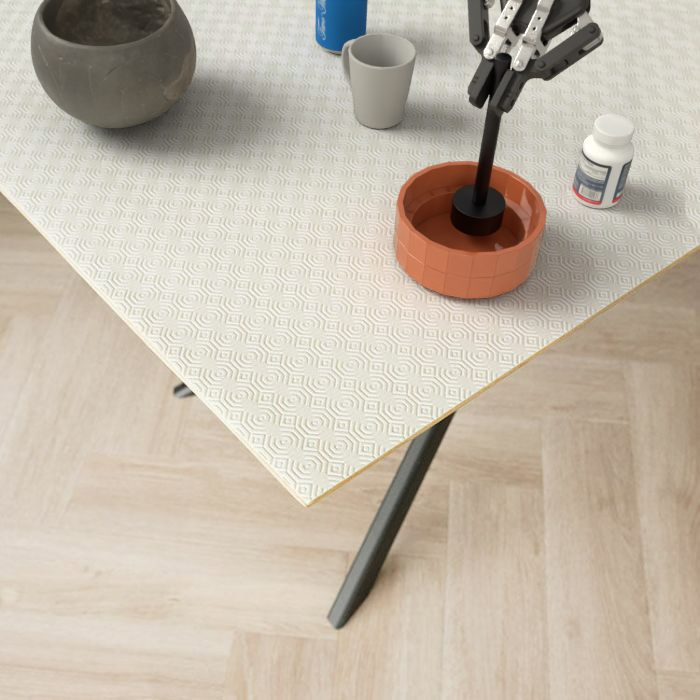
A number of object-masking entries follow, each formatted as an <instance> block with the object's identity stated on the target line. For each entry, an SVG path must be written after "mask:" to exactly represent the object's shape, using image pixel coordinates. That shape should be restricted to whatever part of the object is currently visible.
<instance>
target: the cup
mask: <svg viewBox="0 0 700 700" xmlns="http://www.w3.org/2000/svg"><path fill="white" fill-rule="evenodd" d="M417 55H418V51H417V48H416V46H415V45H414V44H413V42H412V41H410V40H409V39H408V38H405V37H403V36H401V35H397V34H393V33H386V32H373V33H366V35H364V36H361V37H359V38H357V39H352V40H350V41H348V42H346V43H345V44H344V46H343V49H342V54H341V57H340V58H341V68H342V71H343V75H344V78H345V80H346V82H347V84H348V86H349V88H350V89H351V93H352V94H351V95H352V103H353V110H354V117H355V119H356V120H357V121H358V122H359V123H360V124H361V125H363V126H365V127H368V128H371V129H378V130H382V129H383V130H385V129H389V128H392V127H395V126H397V125H398V124H400V123H401V122H402V120H403V117H404V114H405V109H406V107H407V106H406V105H407V101H408V97H409V93H410V89H411V85H412V79H413V74H414V69H415V65H416V59H417Z"/></svg>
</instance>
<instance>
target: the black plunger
mask: <svg viewBox="0 0 700 700" xmlns="http://www.w3.org/2000/svg"><path fill="white" fill-rule="evenodd" d="M512 61H513V56H512V55H511V54H510V53H509V54H508V53H498V54H497V55H496V58H495V64H494V70H493V76H492V82H491V88H490V94H489V96H488V99H487V107H486V112H485V119H484V125H483V131H482V137H481V143H480V151H479V156H478V161H477V162H478V167H477V173H476V179H475V184H471V185H466V186H463V187H461V188H459V189H458V190H457V191H456V192H455V193H454V195H453V200H452V207H451V214H450V220H451V223H452V225H453V226H454V227H455V228H456V229H457V230H459V231H460V232H462V233H464V234H467V235H471V236H479V237H480V236H488V235H491V234H493V233H495V232H497V231H498V230H499V229H500V227H501V225H502V221H503V216H504V211H505V206H506V201H505V198H504V196H503V195H502V194H501V193H500V192H499V191H498V190H496V189H494V188H492V187H489V184H490V179H491V173H492V167H493V165H494V162H495V161H494V160H495V156H496V150H497V146H498V145H497V144H498V140H499V134H500V127H501V124H502V116H503V115H502V116H501V117H497V116H495V115H493V114H492V113H491V112H490V111H489V110H488V107H489V104H490V102H491V100H492V98H493V96H494V94H495V92H496V90H497V88H498V86H499V84H500V82H501V81H502V79H503V77H504V75H505V73H506V71H507V69H510V70H511V67H512V63H513V62H512Z"/></svg>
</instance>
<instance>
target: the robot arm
mask: <svg viewBox="0 0 700 700" xmlns="http://www.w3.org/2000/svg"><path fill="white" fill-rule="evenodd" d="M591 1H592V0H499V5H500V15H499V16H498V19H497V20H496V22H495V25H494V27H493V33H492V34H491V33H490V17H489V16H490V15H489V12H490V11H489V9H492V8H493V6H494V5H495V3H496V0H467V17H468V18H467V19H468V38H469V43H470V44H471V46H472V47H473V48H474V49H475V51H476V52H477V53H478V54H479V55H480V57H481V59H480V62H479V65H478V66H477V68H476V70H475V72H474V74H473V77H472V78H471V81H470V82H469V83H468V86H467V95H468V96H469V97H468V103H469V104H470V105H471V106H473V107H474V108H477V109H479V110H481V109H483V107H484V106H485V104H486V102H487V101H488V99H489V94H490V88H491V82H492V76H493V70H494V64H495V58H496V55H497V54H498V53H508V54H510V53H511V51H512V49H513V48H515V47H516V46H517V45H518V43H519V41H520V40H521V45H520V47H519V49H518V51H517V54H516V55H515V58H514V60H513V62H512V66H511V67H512V68H510V69H507V71H506V73H505V75H504V77H503V79H502V81H501V82H500V84H499V86H498V88H497V90H496V92H495V94H494V96H493V98H492V100H491V102H490V104H489V107H488V110H489V111H490V112H491V113H492V114H493V115H495V116H497V117H501V116H503V115H504V113H506V114H509V113H510V112H512V110H513V108H514V106H515V104H516V103H517V101H518V99H519V97H520V95H521V93H522V91H523V89H524V87H525V86H526V83H527V82H528V81H529V80H534V79H539V80H541V79H542V80H543V81H545V82H549V81H551V80H552V79H554V78H555V77H557V76H558V75H560V74H561V73H563V72H564V71H566V70H567V69H569V68H570V67H572V66H573V65H574V64H576V63H578V62H579V61H580V60H582V59H583V58H585V57H586V56H587V55H589V54H590V53H592V52H593V51H594V50H596V49H598V48H599V47H601V46H602V44H603V43H604V42H605V41H604V39H605V38H604V35H603V32H602V29H601V27H600V26H599V24H598V23H597V22H594V20H593V19H592V17H591V16H590V15H589V14H590V12H591V8H592V7H591V6H592V3H591ZM572 27H573V28H572ZM570 28H572V29H571V31H570V36H569V37H567V38H565V39H564V40H563V41H561V42H559V44H557V45H555V46H554V47H553V48H551V49H550V50H549V51H548V48H549V47H550V45H551V43H552V40H553V39H554V38H556V37H558V36H559V35H561V34H563V33H564V32H566V31H568V30H569V29H570ZM521 37H522V39H521ZM501 118H502V117H501Z"/></svg>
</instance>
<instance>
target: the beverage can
mask: <svg viewBox="0 0 700 700" xmlns="http://www.w3.org/2000/svg"><path fill="white" fill-rule="evenodd" d="M368 2H369V1H368V0H315V41H316V43H317V44H318V46H319V47H321V48H322V49H324V50H325V51H327V52H329V53H331V54H336V55H342V49H343V46H344V44H345V43H346V42H348V41H350V40H352V39H357V38H359V37H361V36H364V35H367V24H368V23H367V22H368Z"/></svg>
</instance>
